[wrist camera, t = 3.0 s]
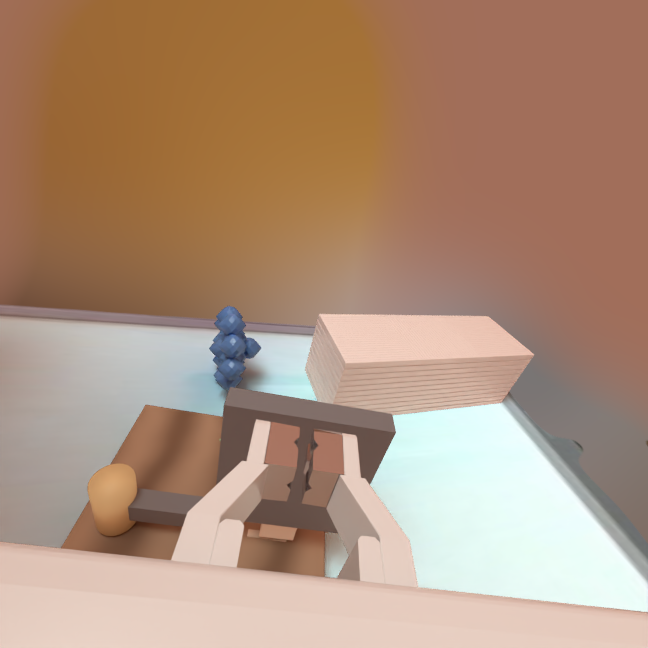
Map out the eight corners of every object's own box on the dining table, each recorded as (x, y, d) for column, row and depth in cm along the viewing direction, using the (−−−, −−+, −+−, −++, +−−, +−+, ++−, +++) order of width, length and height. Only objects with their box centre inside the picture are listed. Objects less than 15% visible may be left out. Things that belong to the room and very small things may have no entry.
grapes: (262, 411, 46) (275, 338, 40) (208, 415, 44) (213, 338, 38) (251, 354, 55) (260, 288, 49) (205, 355, 53) (209, 285, 47)
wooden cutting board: (55, 581, 28) (49, 565, 26) (146, 419, 41) (145, 403, 40) (317, 607, 30) (324, 594, 29) (320, 446, 44) (325, 431, 42)
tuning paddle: (87, 533, 28) (47, 387, 20) (108, 495, 31) (81, 352, 22) (336, 562, 31) (397, 442, 22) (335, 524, 33) (390, 405, 25)
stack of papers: (462, 362, 68) (487, 315, 62) (500, 403, 60) (534, 354, 54) (304, 370, 55) (318, 313, 50) (326, 424, 47) (346, 363, 42)
